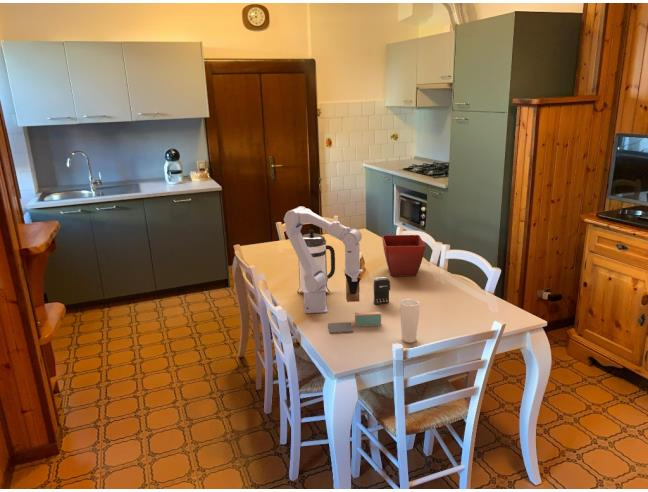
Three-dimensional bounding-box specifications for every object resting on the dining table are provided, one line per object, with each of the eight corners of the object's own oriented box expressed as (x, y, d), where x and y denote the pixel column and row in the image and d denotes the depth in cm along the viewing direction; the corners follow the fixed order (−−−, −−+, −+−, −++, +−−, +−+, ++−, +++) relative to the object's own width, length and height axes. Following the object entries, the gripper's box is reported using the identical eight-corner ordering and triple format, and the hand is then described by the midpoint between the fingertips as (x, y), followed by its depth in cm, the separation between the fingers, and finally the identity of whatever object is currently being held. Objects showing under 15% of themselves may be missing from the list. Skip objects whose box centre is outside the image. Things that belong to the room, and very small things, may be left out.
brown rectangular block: (347, 302, 199) (346, 283, 197) (346, 298, 203) (345, 280, 200) (359, 301, 200) (359, 282, 197) (358, 298, 203) (358, 279, 201)
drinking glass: (416, 335, 185) (417, 298, 181) (420, 343, 179) (421, 305, 175) (398, 335, 185) (398, 298, 181) (401, 344, 179) (402, 306, 174)
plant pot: (424, 278, 241) (425, 245, 236) (385, 279, 242) (385, 246, 237) (418, 265, 260) (419, 234, 255) (381, 266, 260) (381, 235, 255)
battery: (375, 305, 212) (375, 280, 209) (372, 302, 216) (372, 277, 212) (390, 304, 213) (391, 279, 210) (388, 300, 217) (388, 276, 213)
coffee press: (328, 300, 218) (327, 235, 210) (293, 298, 222) (290, 233, 213) (335, 286, 235) (334, 224, 226) (302, 284, 238) (300, 223, 229)
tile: (355, 327, 193) (355, 315, 192) (355, 324, 195) (355, 313, 194) (381, 325, 194) (381, 314, 193) (380, 323, 196) (380, 311, 194)
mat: (329, 333, 188) (329, 332, 188) (328, 324, 196) (328, 323, 195) (353, 332, 189) (353, 330, 189) (351, 323, 196) (351, 322, 196)
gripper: (364, 265, 189) (364, 298, 193) (359, 253, 203) (359, 284, 207) (346, 266, 189) (346, 299, 193) (342, 254, 203) (343, 285, 207)
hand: (352, 292), depth 200 cm, fingers closed on brown rectangular block, 3 cm apart
